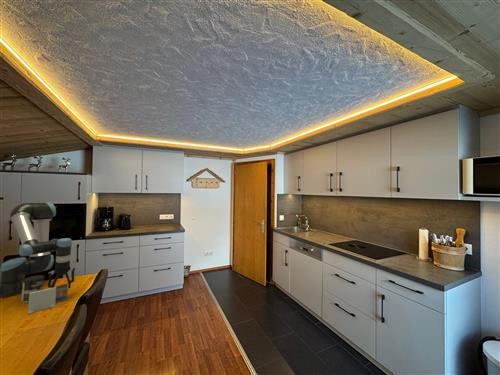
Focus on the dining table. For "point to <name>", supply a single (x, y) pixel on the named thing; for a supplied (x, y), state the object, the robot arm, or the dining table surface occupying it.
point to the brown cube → (61, 290)
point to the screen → (41, 300)
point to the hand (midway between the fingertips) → (60, 294)
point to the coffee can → (31, 286)
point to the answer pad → (61, 299)
